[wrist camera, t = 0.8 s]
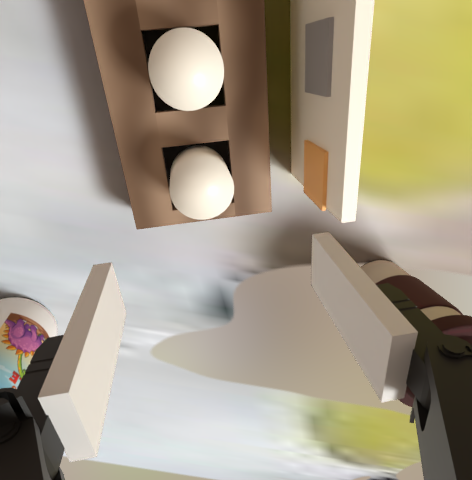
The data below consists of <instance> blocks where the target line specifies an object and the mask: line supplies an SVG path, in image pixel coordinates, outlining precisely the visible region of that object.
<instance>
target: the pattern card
mask: <svg viewBox="0 0 472 480" xmlns="http://www.w3.org/2000/svg"><path fill="white" fill-rule="evenodd" d="M373 11H374V0H290V58H291V174H292V175H293V176H294V177H295V178H296V179H297V180H298V181H299V182H300V183H301V184H302V185H303V186H304V193H305V194H306V195H307V196H308V197H309V198H310V199H311V200H312V201H313V202H314V203H315V204H316V205H317V206H318V207H319V208H320V209H321V210H322V211H325V210H326V208H327V209H328V210H329V211H330V212H331V213H332V214H333V215H334V216H335V217H336V218H337V219H338V220H339V221H340V222H341V223H345V222H352V221H355V219H356V208H357V196H358V185H359V173H360V161H361V150H362V138H363V127H364V115H365V103H366V92H367V80H368V69H369V57H370V45H371V34H372V22H373Z"/></svg>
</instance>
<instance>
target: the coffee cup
mask: <svg viewBox="0 0 472 480" xmlns="http://www.w3.org/2000/svg"><path fill="white" fill-rule="evenodd" d="M360 268H361V269H362V270H363V271H364V272H365V273H366V274H367V275H368V277H369V278H370V279H371V280H372V281H373V282H374V283H375V284H376V285H378V284H385V283H389V284H391V285H393V286H395V287H396V288H398V289H400V290H401V291H402V292H403V293H404V294H405V295H406V296H407V297H408V298H409V299H410V301H412V302H413V303H414V304H415V305H416V306H417V308H419V309H420V310H421V311H422V312H423V313H424V314H425V315H426V316H427V317H428V318H429V319H430V320H431V321H432V322H433V323H434V324H435V325H436V326H437V327H438V328H439V329H440V330H441V331H442V332H443V333H444V334H446V335H452V336H456V337H459V338H461V339H463V340H465V341H467V342H468V343H470V344H471V345H472V317H471V316H467V315H463V314H462V313H461V312H460V311H459V310H458V309H457V308H456V307H455V306H453V305H452V304H451V303H449V302H448V301H447V300H445V299H444V298H443V297H441V296H440V295H439V294H437V293H436V292H435V291H434V290H432V289H431V288H430V287H428V286H427V285H425V284H424V283H423V282H422V281H420V280H419V279H417V278H415V277H412V276H411V275H409V274H408V273H407V272H405V271H404V270H403V269H401V268H400V267H399V266H398V265H396V264H394V263H392V262H390V261H385V260H377V261H372V262H369V263H367V264H364V265H363V266H361V267H360ZM414 398H415V395H414V394H413V393H412V391H411V390H410V388H409V387H408V386H407V387H406V392H405V397H404V398H402V399H398V400H400V401H401V402H402V403H404V404H406V405H408V406H411V407H413V402H414Z"/></svg>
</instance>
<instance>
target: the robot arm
mask: <svg viewBox="0 0 472 480" xmlns="http://www.w3.org/2000/svg"><path fill="white" fill-rule="evenodd" d="M311 286H312V287H313V289H314V291H315V292H316V294H317V296H318V297H319V299H320V301H321V302H322V304H323V306H324V307H325V309H326V311H327V312H328V314H329V316H330V317H331V319H332V321H333V322H334V324H335V326H336V327H337V329H338V331H339V332H340V334H341V335H342V338H343V339H344V341H345V342H346V344H347V346H348V347H349V349H350V351H351V353H352V354H353V356H354V357H355V359H356V361H357V362H358V364H359V366H360V367H361V369H362V371H363V373H364V374H365V376H366V377H367V379H368V381H369V383H370V384H371V386H372V388H373V389H374V391H375V392H376V394H377V396H378V398H379V399H380V401H381V402H386V401H392V400H397V399H402V398H404V397H405V392H406V387H407V386H408V387H409V388H410V390H411V391H412V393H413V394H414V395H415V398H414V402H413V407H412V411H411V415H410V423H414V419H415V421H416V428H417V435H418V442H419V448H420V455H421V462H422V468H423V476H424V480H472V345H471V344H470V343H468V342H467V341H465V340H463V339H461V338H459V337H456V336H452V335H446V334H444V333H443V332H442V331H441V330H440V329H439V328H438V327H437V326H436V325H435V324H434V323H433V322H432V321H431V320H430V319H429V318H428V317H427V316H426V315H425V314H424V313H423V312H422V311H421V310H420V309H419V308H417V306H416V305H415V304H414V303H413V302H412V301H410V299H409V298H408V297H407V296H406V295H405V294H404V293H403V292H402V291H401V290H400V289H398V288H396V287H395V286H393V285H391V284H389V283H385V284H378V285H376V284H375V283H374V282H373V281H372V280H371V279H370V278H369V277H368V275H367V274H366V273H365V272H364V271H363V270H362V269H361V268H360V266H359V265H358V264H357V263H356V262H355V261H354V260H353V259H352V257H351V256H350V255H349V254H348V253H347V252H346V251H345V250H344V248H343V247H342V246H341V245H340V244H339V243H338V242H337V241H336V239H335V238H334V237H333V236H332V235H331V234H330V233H329V232H324V233H317V234H312V265H311ZM125 318H126V310H125V307H124V303H123V300H122V296H121V293H120V289H119V286H118V282H117V279H116V275H115V272H114V268H113V265H112V262H111V263H104V264H97V265H93V267H92V269H91V272H90V274H89V277H88V279H87V281H86V284H85V286H84V289H83V291H82V293H81V296H80V298H79V300H78V303H77V305H76V308H75V310H74V312H73V315H72V317H71V319H70V322H69V324H68V327H67V329H66V331H65V334H64V335H61V336H55V337H48V338H47V339H46V340H45V341H44V342H43V343H42V344H41V345H40V346H39V347H38V348H37V349H36V351H35V353H34V355H33V357H32V359H31V361H30V364H29V365H28V367H27V369H26V371H25V375H23V377H22V379H21V381H20V383H19V385H18V387H17V389H14V388H1V389H0V480H65V479H64V474H63V472H62V470H61V469H60V467H59V466H60V463H61V459H62V456H63V452H64V451H65V453H66V455H67V457H68V459H69V461H70V462H72V461H78V460H83V459H88V458H93V457H97V454H98V449H99V444H100V439H101V434H102V429H103V425H104V420H105V415H106V410H107V405H108V400H109V396H110V391H111V386H112V381H113V376H114V371H115V367H116V362H117V357H118V352H119V347H120V342H121V338H122V333H123V328H124V323H125Z"/></svg>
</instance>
